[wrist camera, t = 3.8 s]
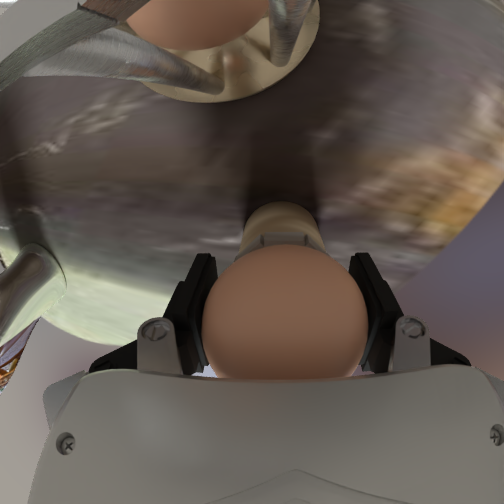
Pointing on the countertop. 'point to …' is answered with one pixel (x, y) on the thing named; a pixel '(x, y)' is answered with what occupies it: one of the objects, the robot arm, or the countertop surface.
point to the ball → (196, 22)
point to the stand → (280, 228)
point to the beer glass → (25, 302)
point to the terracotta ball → (284, 317)
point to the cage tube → (151, 48)
